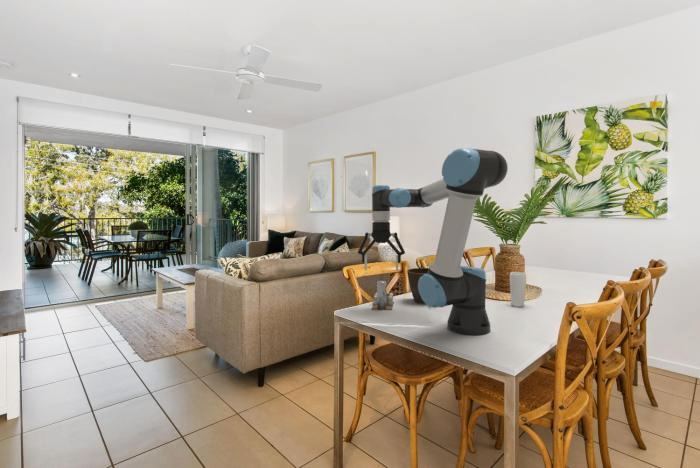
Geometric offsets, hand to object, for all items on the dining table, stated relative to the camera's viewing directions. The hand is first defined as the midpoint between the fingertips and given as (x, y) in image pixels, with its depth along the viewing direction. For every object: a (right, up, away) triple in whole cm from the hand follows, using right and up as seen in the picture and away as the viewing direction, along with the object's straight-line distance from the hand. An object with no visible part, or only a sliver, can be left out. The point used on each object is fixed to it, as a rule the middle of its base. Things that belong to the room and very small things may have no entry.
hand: (381, 270), depth 159 cm
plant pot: (+21, -17, +12) cm, 29 cm away
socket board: (+1, -18, +6) cm, 19 cm away
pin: (0, -17, +1) cm, 17 cm away
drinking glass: (+62, -17, +7) cm, 65 cm away
